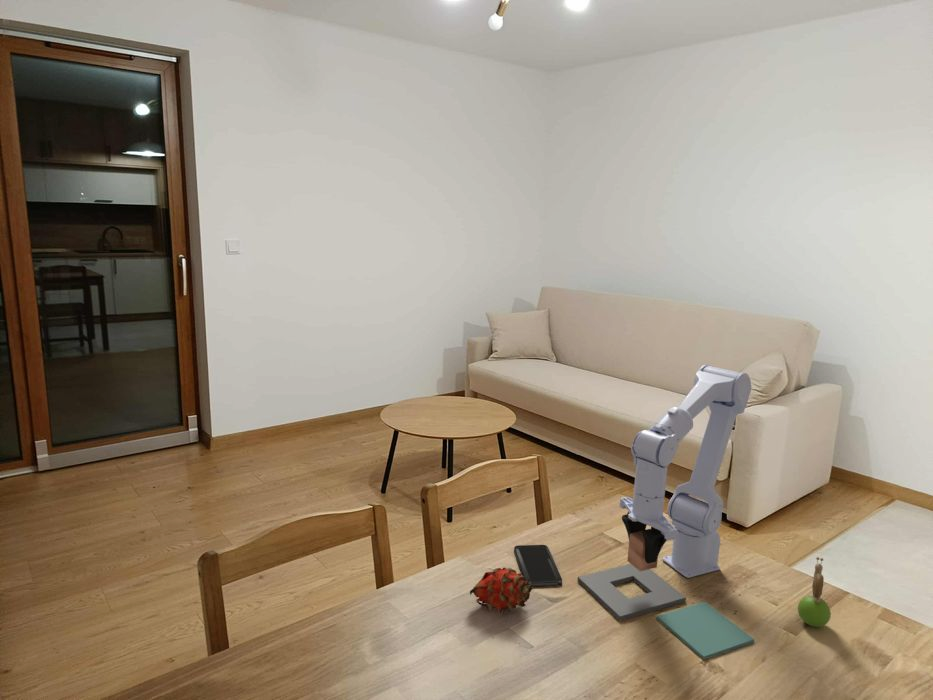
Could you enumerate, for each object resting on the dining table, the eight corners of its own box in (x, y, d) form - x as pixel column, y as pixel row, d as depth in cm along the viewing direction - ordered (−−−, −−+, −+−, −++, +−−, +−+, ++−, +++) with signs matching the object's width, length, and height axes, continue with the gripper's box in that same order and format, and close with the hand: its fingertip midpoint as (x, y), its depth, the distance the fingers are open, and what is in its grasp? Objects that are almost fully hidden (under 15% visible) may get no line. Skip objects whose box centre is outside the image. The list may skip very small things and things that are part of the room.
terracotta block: (643, 557, 127) (646, 529, 125) (656, 567, 123) (659, 539, 122) (627, 560, 125) (629, 533, 124) (640, 571, 122) (643, 543, 120)
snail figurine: (826, 616, 121) (836, 560, 118) (829, 636, 115) (839, 577, 112) (795, 608, 123) (803, 553, 120) (796, 627, 117) (805, 570, 115)
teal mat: (704, 604, 124) (704, 601, 124) (754, 642, 113) (754, 639, 113) (656, 618, 119) (656, 615, 119) (703, 659, 108) (703, 656, 108)
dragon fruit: (535, 617, 121) (474, 624, 121) (529, 574, 126) (470, 580, 127) (535, 602, 114) (470, 609, 115) (528, 557, 120) (466, 564, 120)
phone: (526, 583, 128) (513, 545, 142) (525, 588, 128) (513, 549, 142) (564, 582, 128) (547, 544, 143) (563, 587, 129) (547, 548, 143)
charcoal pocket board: (639, 565, 137) (639, 561, 136) (685, 601, 124) (686, 597, 124) (577, 581, 130) (577, 576, 130) (619, 621, 118) (620, 616, 118)
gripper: (609, 480, 126) (604, 541, 129) (657, 511, 113) (651, 579, 116) (638, 475, 129) (632, 535, 132) (688, 505, 116) (681, 571, 119)
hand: (643, 555), depth 124 cm, fingers closed on terracotta block, 4 cm apart
